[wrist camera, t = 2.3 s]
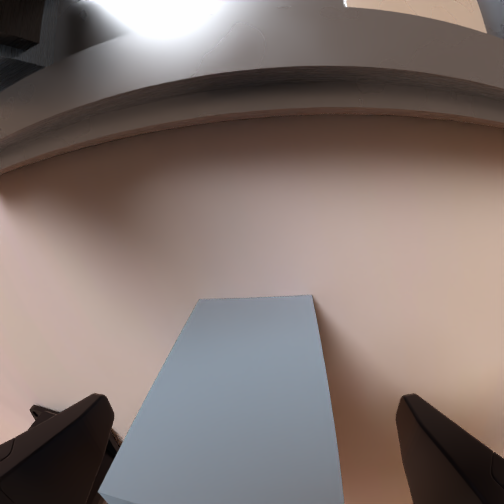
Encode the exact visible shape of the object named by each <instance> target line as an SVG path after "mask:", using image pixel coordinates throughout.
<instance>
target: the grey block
mask: <svg viewBox="0 0 504 504" xmlns="http://www.w3.org/2000/svg"><path fill="white" fill-rule="evenodd" d="M98 493H99V494H100V495H101V496H102V497H103V498H104V499H105V501H106V502H107V503H108V504H344V495H343V486H342V478H341V470H340V462H339V454H338V446H337V439H336V432H335V425H334V418H333V411H332V405H331V399H330V392H329V386H328V380H327V374H326V368H325V362H324V357H323V351H322V345H321V340H320V334H319V329H318V324H317V319H316V313H315V308H314V303H313V298H312V295H300V296H280V297H257V298H228V299H199V300H198V302H197V304H196V306H195V308H194V310H193V311H192V313H191V315H190V317H189V319H188V320H187V322H186V324H185V326H184V328H183V330H182V331H181V333H180V335H179V337H178V339H177V341H176V342H175V344H174V346H173V348H172V350H171V352H170V354H169V355H168V357H167V359H166V361H165V363H164V365H163V367H162V368H161V370H160V372H159V374H158V376H157V378H156V380H155V382H154V383H153V385H152V387H151V389H150V391H149V393H148V395H147V397H146V399H145V400H144V402H143V404H142V406H141V408H140V410H139V412H138V414H137V416H136V418H135V420H134V421H133V423H132V425H131V427H130V429H129V431H128V433H127V435H126V437H125V439H124V441H123V443H122V445H121V447H120V449H119V451H118V453H117V455H116V457H115V458H114V460H113V462H112V464H111V466H110V468H109V470H108V472H107V474H106V476H105V478H104V480H103V482H102V484H101V486H100V488H99V490H98Z"/></svg>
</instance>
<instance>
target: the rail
mask: <svg viewBox="0 0 504 504" xmlns="http://www.w3.org/2000/svg"><path fill="white" fill-rule="evenodd" d="M318 114H367V115H393V116H409V117H422V118H433V119H442V120H451V121H459V122H466V123H473V124H480V125H486V126H492V127H498V128H503V129H504V0H0V175H1V174H4V173H6V172H9V171H12V170H14V169H17V168H20V167H23V166H26V165H29V164H32V163H35V162H38V161H41V160H44V159H47V158H50V157H53V156H57V155H60V154H63V153H67V152H70V151H74V150H78V149H81V148H85V147H89V146H93V145H97V144H101V143H105V142H109V141H113V140H117V139H122V138H126V137H131V136H136V135H141V134H146V133H151V132H156V131H161V130H167V129H173V128H179V127H185V126H192V125H199V124H206V123H213V122H221V121H230V120H240V119H250V118H261V117H275V116H292V115H318Z"/></svg>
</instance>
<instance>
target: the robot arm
mask: <svg viewBox="0 0 504 504" xmlns="http://www.w3.org/2000/svg"><path fill="white" fill-rule="evenodd" d="M30 412H31V414H32V415H33V417H34V419H35V422H34V423H33V424H32V425H31V427H30V428H29V429H28V430H27V431H26V432H24V433H22V434H20V435H18V436H16V437H15V438H13V439H11V440H9V441H7V442H5V443H3V444H1V445H0V504H108V503H107V502H106V501H105V499H104V498H103V497H102V496H101V495H100V494H99V493H98V490H99V488H100V486H101V484H102V482H103V480H104V478H105V476H106V474H107V472H108V470H109V468H110V466H111V464H112V462H113V460H114V458H115V457H116V455H117V453H118V451H119V449H120V448H119V446H118V444H117V442H116V441H115V439H114V437H113V435H112V434H111V428H112V425H113V421H114V412H113V409H112V407H111V405H110V403H109V401H108V399H107V397H106V396H105V395H103V394H97V393H94V394H92V395H90V396H88V397H86V398H85V399H83V400H81V401H79V402H78V403H76V404H74V405H72V406H71V407H69V408H67V409H65V410H64V411H62V412H60V413H58V412H55V411H52V410H49V409H45V408H42V407H39V406H36V405H33V406H32V407H31V408H30ZM396 424H397V430H398V436H399V442H400V448H401V455H402V461H403V465H404V469H405V473H406V477H407V480H408V484H409V488H410V492H411V496H412V500H413V504H504V459H503V458H502V457H501V456H499V455H498V454H496V453H495V452H493V451H492V450H491V449H489V448H488V447H487V446H485V445H484V444H483V443H481V442H480V441H479V440H477V439H476V438H475V437H473V436H472V435H470V434H469V433H468V432H466V431H465V430H464V429H462V428H461V427H460V426H458V425H457V424H456V423H454V422H453V421H452V420H450V419H449V418H447V417H446V416H445V415H443V414H442V413H441V412H439V411H438V410H437V409H435V408H434V407H433V406H431V405H430V404H429V403H427V402H426V401H425V400H423V399H422V398H421V397H419V396H418V395H417V394H414V393H413V394H407V395H403V396H402V397H401V399H400V402H399V406H398V410H397V413H396Z"/></svg>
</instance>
